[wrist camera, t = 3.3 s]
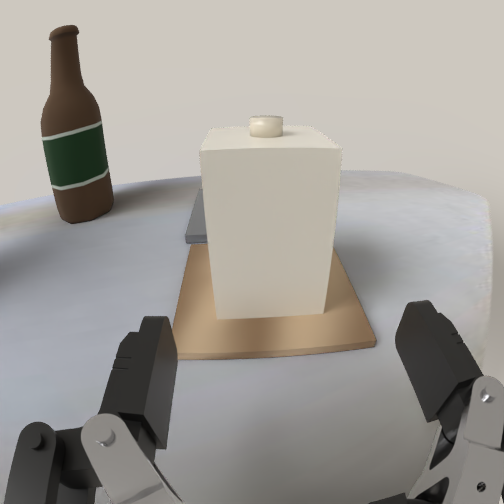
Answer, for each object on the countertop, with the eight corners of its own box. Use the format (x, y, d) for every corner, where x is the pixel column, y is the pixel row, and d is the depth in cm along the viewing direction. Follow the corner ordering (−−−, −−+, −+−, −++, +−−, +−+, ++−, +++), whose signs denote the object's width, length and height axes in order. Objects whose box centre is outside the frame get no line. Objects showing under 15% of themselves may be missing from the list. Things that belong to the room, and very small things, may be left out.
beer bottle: (126, 198, 39) (107, 20, 26) (93, 225, 32) (66, 16, 20) (83, 199, 40) (62, 37, 27) (49, 224, 33) (20, 39, 21)
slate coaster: (186, 243, 28) (184, 235, 28) (199, 194, 38) (199, 188, 38) (317, 237, 28) (318, 230, 28) (296, 191, 39) (296, 185, 38)
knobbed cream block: (216, 319, 19) (197, 129, 13) (221, 260, 25) (210, 113, 19) (323, 313, 19) (343, 128, 13) (304, 256, 25) (312, 111, 19)
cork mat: (169, 359, 17) (167, 352, 17) (191, 250, 27) (191, 244, 27) (373, 346, 17) (376, 340, 17) (328, 244, 27) (329, 238, 27)
